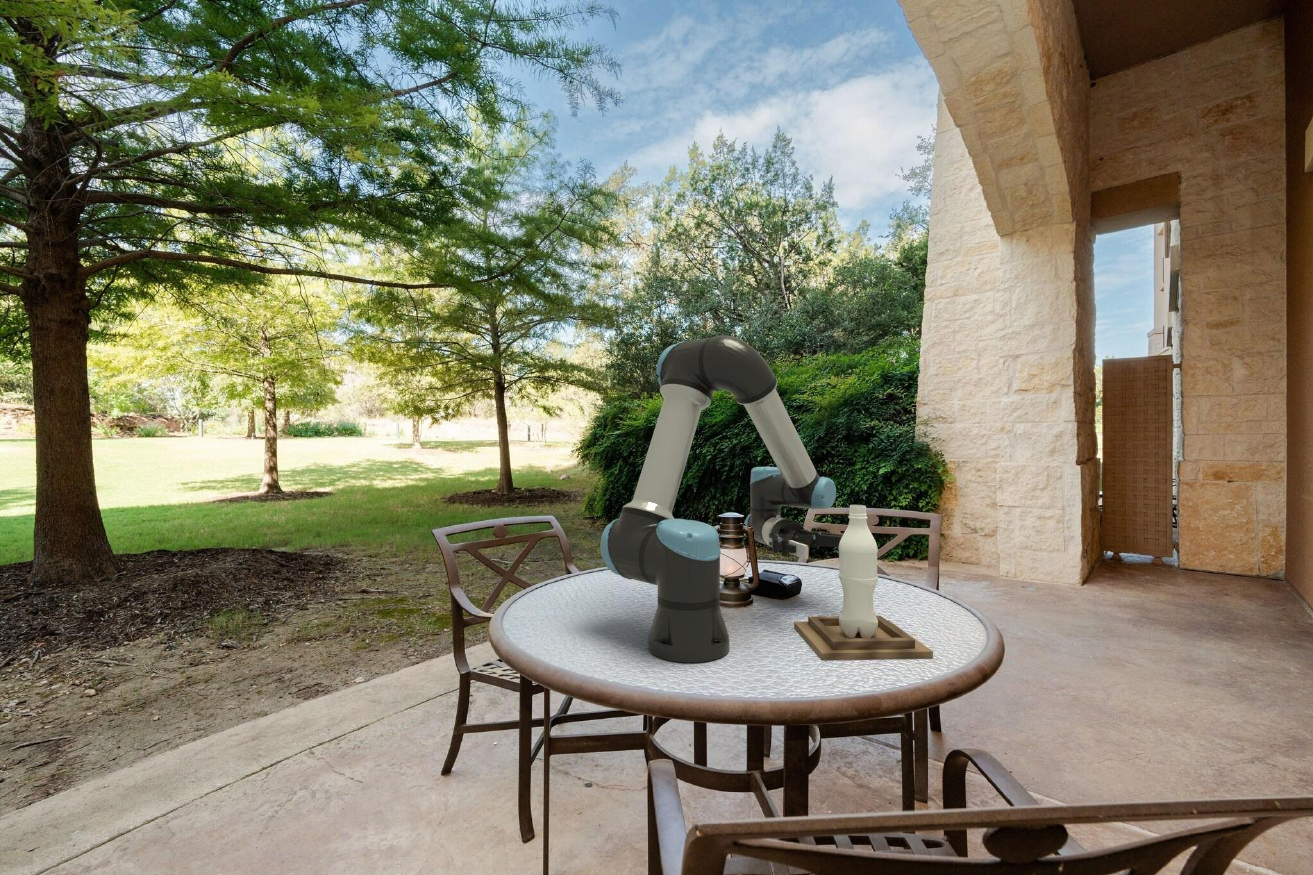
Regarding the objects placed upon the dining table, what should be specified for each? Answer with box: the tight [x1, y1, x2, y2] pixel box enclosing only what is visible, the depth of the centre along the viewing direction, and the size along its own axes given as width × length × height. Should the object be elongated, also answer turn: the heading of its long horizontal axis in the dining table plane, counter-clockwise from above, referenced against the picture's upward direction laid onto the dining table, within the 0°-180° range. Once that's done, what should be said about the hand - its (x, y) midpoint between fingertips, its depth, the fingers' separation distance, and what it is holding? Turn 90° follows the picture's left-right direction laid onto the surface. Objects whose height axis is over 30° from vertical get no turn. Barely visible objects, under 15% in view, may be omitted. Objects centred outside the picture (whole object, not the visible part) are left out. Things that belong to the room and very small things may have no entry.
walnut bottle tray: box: [793, 615, 934, 661], centre depth 113 cm, size 20×18×3 cm
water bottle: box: [838, 504, 879, 638], centre depth 113 cm, size 7×7×25 cm
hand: (836, 550), depth 120 cm, fingers open, 13 cm apart
